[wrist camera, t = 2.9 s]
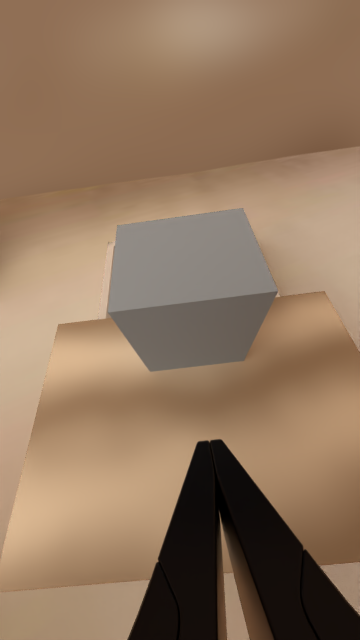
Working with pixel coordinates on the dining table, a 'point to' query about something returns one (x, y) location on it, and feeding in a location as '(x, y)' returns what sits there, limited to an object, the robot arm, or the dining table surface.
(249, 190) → the dining table surface
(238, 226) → the block
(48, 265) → the dining table surface
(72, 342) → the wood grain box
